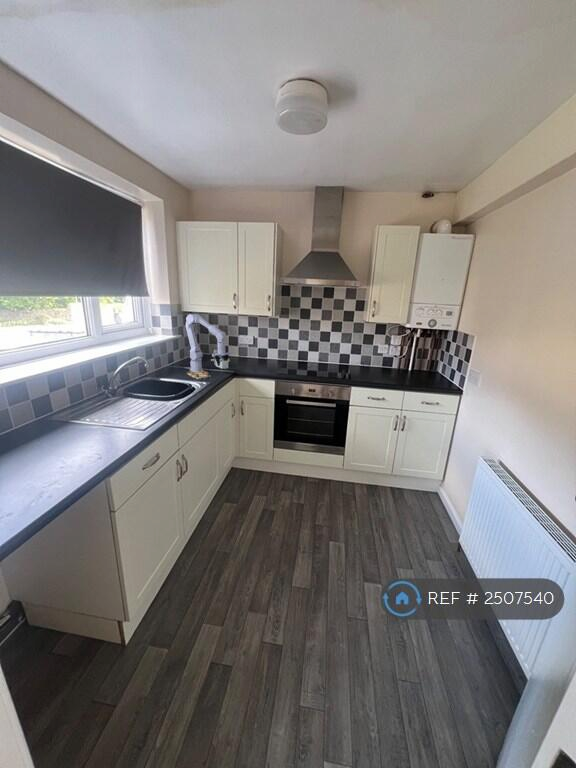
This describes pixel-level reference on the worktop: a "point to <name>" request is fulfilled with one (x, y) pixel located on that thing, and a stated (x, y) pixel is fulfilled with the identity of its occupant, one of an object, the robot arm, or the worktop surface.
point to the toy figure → (219, 356)
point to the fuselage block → (223, 364)
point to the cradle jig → (199, 374)
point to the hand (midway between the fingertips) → (221, 365)
